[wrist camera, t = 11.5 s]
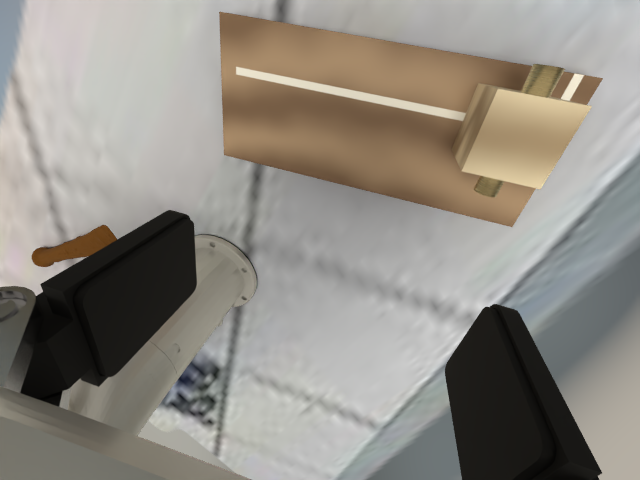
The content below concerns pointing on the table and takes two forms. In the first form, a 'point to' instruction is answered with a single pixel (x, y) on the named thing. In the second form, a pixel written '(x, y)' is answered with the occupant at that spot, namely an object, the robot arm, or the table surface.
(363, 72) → the board
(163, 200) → the table surface
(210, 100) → the table surface
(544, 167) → the marking gauge
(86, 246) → the primitive tool
